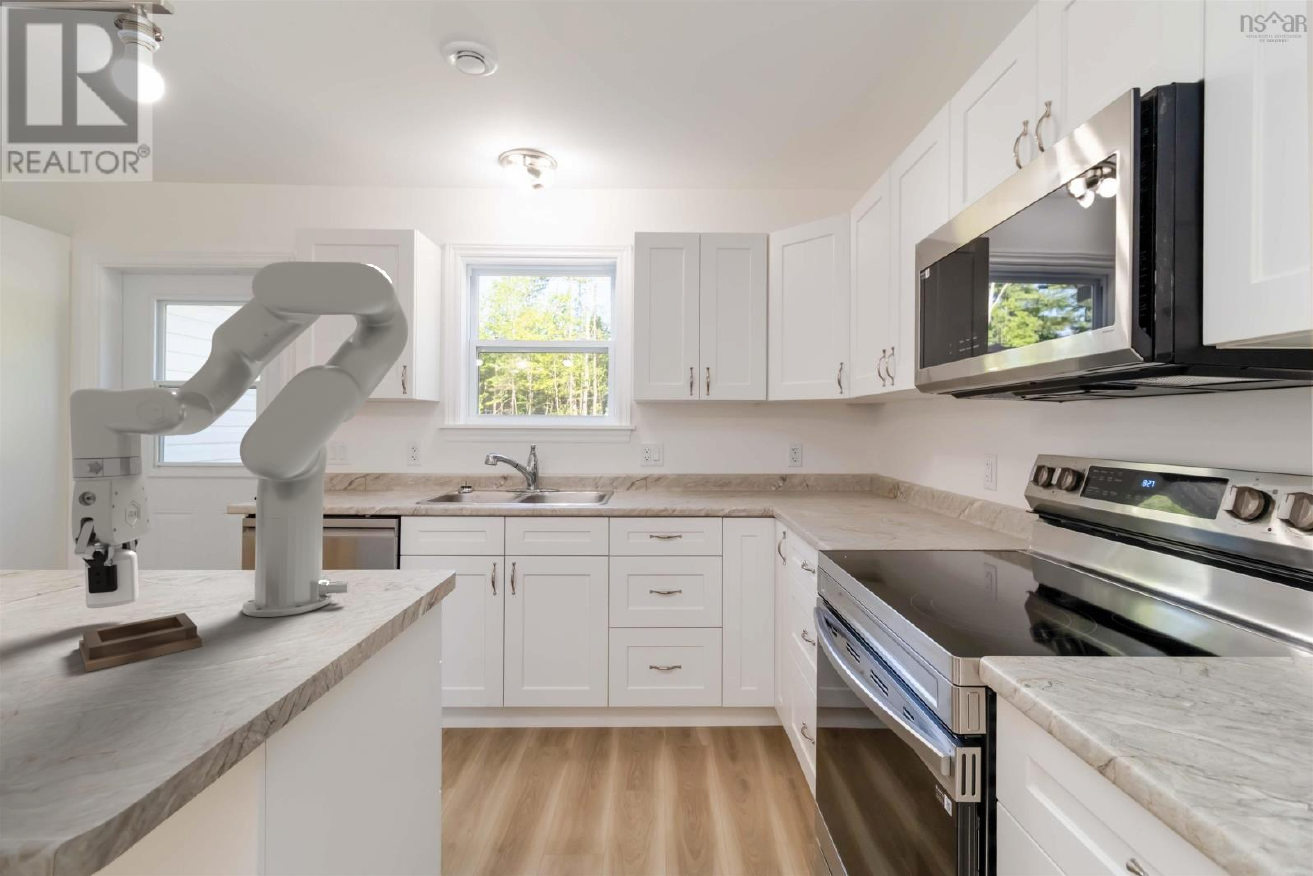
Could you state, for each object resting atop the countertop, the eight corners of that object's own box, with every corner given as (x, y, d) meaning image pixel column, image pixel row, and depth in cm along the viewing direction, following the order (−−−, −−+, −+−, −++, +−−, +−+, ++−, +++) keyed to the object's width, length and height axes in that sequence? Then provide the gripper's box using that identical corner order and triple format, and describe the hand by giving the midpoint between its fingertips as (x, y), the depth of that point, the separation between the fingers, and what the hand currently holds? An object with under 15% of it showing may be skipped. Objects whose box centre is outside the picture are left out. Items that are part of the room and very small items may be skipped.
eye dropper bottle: (117, 608, 81) (114, 529, 81) (80, 609, 81) (77, 529, 81) (144, 599, 86) (142, 524, 85) (109, 600, 86) (107, 524, 86)
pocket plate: (185, 626, 82) (185, 610, 82) (201, 646, 75) (201, 628, 75) (79, 648, 73) (79, 629, 73) (86, 672, 66) (86, 651, 66)
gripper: (102, 472, 76) (107, 601, 77) (168, 465, 92) (172, 572, 93) (33, 475, 74) (39, 608, 74) (113, 466, 90) (117, 576, 90)
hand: (112, 586), depth 83 cm, fingers closed on eye dropper bottle, 3 cm apart
